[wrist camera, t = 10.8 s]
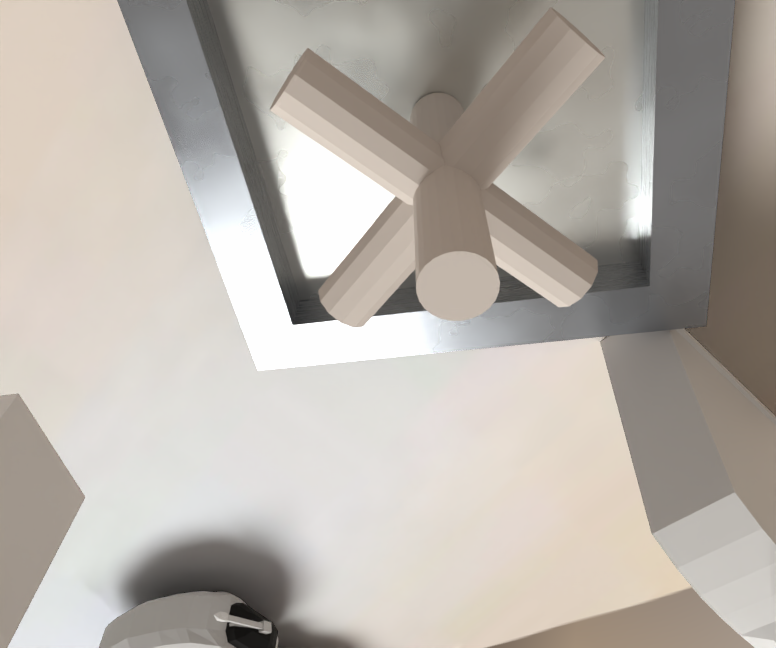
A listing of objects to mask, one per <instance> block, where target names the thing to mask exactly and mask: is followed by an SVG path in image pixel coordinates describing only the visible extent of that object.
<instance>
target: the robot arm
mask: <svg viewBox="0 0 776 648" xmlns="http://www.w3.org/2000/svg"><path fill="white" fill-rule="evenodd" d="M84 499H85V496H84V494H83V493H82V491H81V490H80V488H79V487H78V485H77V483H76V482H75V480H74V479H73V477H72V476H71V474H70V473H69V471H68V469H67V468H66V466H65V465H64V463H63V462H62V460H61V459H60V457H59V456H58V454H57V452H56V451H55V449H54V448H53V446H52V445H51V443H50V442H49V440H48V438H47V437H46V435H45V434H44V432H43V431H42V429H41V428H40V426H39V425H38V423H37V421H36V420H35V418H34V417H33V415H32V414H31V412H30V411H29V409H28V407H27V406H26V404H25V403H24V401H23V400H22V398H21V397H20V395H19V394H11V395H2V396H0V648H7V647H8V645H9V643H10V641H11V639H12V638H13V636H14V634H15V632H16V630H17V628H18V626H19V624H20V622H21V620H22V618H23V616H24V614H25V612H26V611H27V609H28V607H29V605H30V603H31V601H32V599H33V597H34V595H35V593H36V591H37V589H38V587H39V585H40V584H41V582H42V580H43V578H44V576H45V574H46V572H47V570H48V568H49V566H50V564H51V562H52V560H53V558H54V557H55V555H56V553H57V551H58V549H59V547H60V545H61V543H62V541H63V539H64V537H65V535H66V533H67V531H68V530H69V528H70V526H71V524H72V522H73V520H74V518H75V516H76V514H77V512H78V510H79V508H80V506H81V504H82V503H83V501H84Z"/></svg>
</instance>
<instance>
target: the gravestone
mask: <svg viewBox="0 0 776 648" xmlns="http://www.w3.org/2000/svg"><path fill="white" fill-rule="evenodd" d="M600 343H601V347H602V350H603V354H604V358H605V362H606V365H607V369H608V373H609V376H610V380H611V384H612V388H613V391H614V395H615V399H616V402H617V406H618V410H619V414H620V417H621V421H622V425H623V428H624V432H625V436H626V440H627V443H628V447H629V451H630V454H631V458H632V462H633V466H634V469H635V473H636V477H637V480H638V484H639V488H640V492H641V495H642V499H643V503H644V506H645V510H646V514H647V518H648V521H649V525H650V529H651V533H652V535H653V536H654V538H655V539H656V540H657V542H658V543H659V545H660V546H661V547H662V549H663V550H664V552H665V553H666V554H667V556H668V557H669V559H670V560H671V561H672V563H673V564H674V565H675V567H676V568H677V569H678V571H679V572H680V573H681V574H682V576H683V577H684V578H685V579H686V580H687V582H688V583H689V584H690V585H691V586H692V588H693V589H694V590H695V591H696V592H697V593H698V595H699V596H700V597H701V598H702V599H703V600H704V601H705V602H706V603H707V604H708V605H709V606H710V607H711V608H712V609H713V610H714V611H715V612H716V613H717V614H718V615H719V616H720V618H722V619H723V620H724V621H725V622H726V623H727V624H728V625H729V626H730V627H732V628H733V629H734V630H735V631H736V632H737V633H738V634H739V635H740V636H742V637H743V638H744V639H745V640H746V641H748V642H749V643H750V644H751V645H753V646H754V647H755V648H776V416H775V415H774V414H773V413H772V412H771V411H770V410H769V409H768V408H767V407H766V406H765V405H764V404H763V403H761V402H760V401H759V400H758V399H757V398H756V397H755V396H754V395H753V394H752V393H751V392H750V391H749V390H748V389H747V388H746V387H745V386H744V385H743V384H742V383H741V382H740V381H739V380H738V379H737V378H735V377H734V376H733V375H732V374H731V373H730V372H729V371H728V370H727V369H726V368H725V367H724V366H723V365H722V364H721V363H720V362H719V361H718V360H717V359H716V358H715V357H714V356H713V355H712V354H711V353H710V352H708V351H707V350H706V349H705V348H704V347H703V346H702V345H701V344H700V343H699V342H698V341H697V340H696V339H695V338H694V337H693V336H692V335H691V334H690V333H689V332H688V331H687V330H686V329H685V328H684V329H674V330H664V331H654V332H644V333H634V334H623V335H613V336H608V337H607V338H605V339H604V340H602V341H601V342H600Z"/></svg>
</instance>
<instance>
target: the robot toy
mask: <svg viewBox="0 0 776 648" xmlns="http://www.w3.org/2000/svg"><path fill="white" fill-rule="evenodd" d="M278 641H279V638H278V631H277V629H276V627H275V626H274V624H273V623H272V622H271V621H270V620H268V619H267V618H265V617H264V616H262V615H261V614H259V613H258V612H256V611H255V610H253V609H252V608H250V607H249V606H247V605H246V604H245V602H244V601H242V600H241V599H240V598H238V597H236V596H235V595H233V594H231V593H229V592H207V591H198V592H189V593H181V594H175V595H171V596H167V597H163V598H158V599H154V600H150V601H147V602H145V603H142V604H140V605H138V606H136V607H135V608H133V609H131V610H129V611H128V612H126V613H124V614H122V615H121V616H119V617H117V618H116V619H115V620H114V621H112V622H111V623H110V624H109V625H108V626H107V627H106V629H105V632H104V634H103V637H102V640H101V643H100V646H99V648H277V647H278Z"/></svg>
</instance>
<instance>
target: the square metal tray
mask: <svg viewBox="0 0 776 648" xmlns="http://www.w3.org/2000/svg"><path fill="white" fill-rule="evenodd" d="M117 1H118V3H119V6H120V9H121V11H122V14H123V17H124V19H125V22H126V25H127V27H128V30H129V32H130V35H131V38H132V40H133V43H134V46H135V48H136V51H137V53H138V56H139V59H140V61H141V64H142V67H143V69H144V72H145V75H146V77H147V80H148V82H149V85H150V88H151V90H152V93H153V96H154V98H155V101H156V104H157V106H158V109H159V111H160V114H161V117H162V119H163V122H164V125H165V127H166V130H167V133H168V135H169V138H170V140H171V143H172V146H173V148H174V151H175V154H176V156H177V159H178V162H179V164H180V167H181V169H182V172H183V175H184V177H185V180H186V183H187V185H188V188H189V191H190V193H191V196H192V198H193V201H194V204H195V206H196V209H197V212H198V214H199V217H200V220H201V222H202V225H203V227H204V230H205V233H206V235H207V238H208V241H209V243H210V246H211V249H212V251H213V254H214V256H215V259H216V262H217V264H218V267H219V270H220V272H221V275H222V278H223V280H224V283H225V285H226V288H227V291H228V293H229V296H230V299H231V301H232V304H233V307H234V309H235V312H236V314H237V317H238V320H239V322H240V325H241V328H242V330H243V333H244V336H245V338H246V341H247V343H248V346H249V349H250V351H251V354H252V357H253V359H254V362H255V365H256V367H257V370H258V371H259V370H269V369H279V368H289V367H300V366H310V365H320V364H330V363H340V362H350V361H360V360H370V359H381V358H391V357H401V356H411V355H421V354H431V353H441V352H451V351H462V350H472V349H482V348H492V347H502V346H512V345H522V344H532V343H542V342H553V341H563V340H573V339H583V338H593V337H603V336H613V335H623V334H634V333H644V332H654V331H664V330H674V329H684V328H694V327H704V326H706V325H707V313H708V302H709V291H710V279H711V268H712V257H713V245H714V234H715V223H716V211H717V200H718V189H719V178H720V166H721V155H722V144H723V132H724V121H725V110H726V98H727V87H728V76H729V65H730V53H731V42H732V31H733V19H734V8H735V0H117ZM550 7H552V8H553V9H555V10H556V11H557V12H559V13H560V14H561V15H562V16H563V17H565V18H566V19H567V20H568V21H569V22H570V23H571V24H573V25H574V26H575V27H576V28H577V29H578V30H579V31H580V32H581V33H582V34H584V35H585V36H586V37H587V38H588V39H589V40H590V41H591V42H592V43H593V44H594V45H595V46H596V47H597V48H598V49H599V50H600V51H601V52H602V53H603V54H604V56H605V59H604V60H603V61H602V62H601V63H600V64H599V65H598V66H597V67H596V69H595V70H594V71H593V72H592V73H591V74H590V75H589V76H588V77H587V79H586V80H585V81H584V82H583V83H582V84H581V85H580V86H579V87H578V89H577V90H576V91H575V92H574V93H573V94H572V95H571V96H570V97H569V99H568V100H567V101H566V102H565V103H564V104H563V105H562V106H561V107H560V109H559V110H558V111H557V112H556V113H555V114H554V115H553V116H552V117H551V119H550V120H549V121H548V122H547V123H546V124H545V125H544V126H543V127H542V129H541V130H540V131H539V132H538V133H537V134H536V135H535V136H534V137H533V139H532V140H531V141H530V142H529V143H528V144H527V145H526V146H525V147H524V149H523V150H522V151H521V152H520V153H519V154H518V155H517V156H516V157H515V159H514V160H513V161H512V162H511V163H510V164H509V165H508V166H507V167H506V169H505V170H504V171H503V172H502V173H501V174H500V175H499V176H498V177H497V179H496V180H495V181H494V182H493V184H495V185H496V186H497V187H499V188H500V189H501V190H503V191H504V192H506V193H507V194H508V195H510V196H511V197H512V198H514V199H515V200H516V201H518V202H519V203H521V204H522V205H523V206H525V207H526V208H527V209H529V210H530V211H531V212H533V213H534V214H536V215H537V216H538V217H540V218H541V219H542V220H544V221H545V222H546V223H548V224H549V225H551V226H552V227H553V228H555V229H556V230H557V231H559V232H560V233H562V234H563V235H564V236H566V237H567V238H568V239H570V240H571V241H572V242H574V243H575V244H577V245H578V246H579V247H581V248H582V249H583V250H585V251H586V252H587V253H589V254H590V255H591V256H593V257H594V258H595V259H596V260H598V273H597V275H596V277H595V280H594V282H593V284H592V286H591V287H590V289H589V290H588V291H587V292H586V293H585V295H584V296H583V297H582V298H581V299H580V300H578V301H577V302H575V303H574V304H572V305H571V306H569V307H558V306H556V305H555V304H553V303H552V302H550V301H549V300H547V299H546V298H544V297H543V296H542V295H540V294H539V293H537V292H536V291H534V290H533V289H531V288H530V287H528V286H527V285H525V284H524V283H522V282H521V281H519V280H518V279H517V278H515V277H514V276H512V275H511V274H509V273H508V272H506V271H505V270H503V269H502V268H500V267H499V266H497V265H496V266H497V270H498V275H499V280H500V288H499V293H498V296H497V298H496V300H495V302H494V303H493V304H492V305H491V307H490V308H489V309H487V310H486V311H485V312H484V313H482V314H481V315H478V316H476V317H474V318H472V319H467V320H463V321H449V320H444V319H440V318H438V317H436V316H434V315H432V314H430V313H429V312H428V311H427V310H426V309H424V307H423V306H422V304H421V303H420V302H419V299H418V296H417V293H416V271H415V270H414V271H413V272H412V273H411V274H410V275H409V276H408V277H407V279H406V280H405V281H404V282H403V283H402V284H401V285H400V286H399V287H398V288H397V290H396V291H395V292H394V293H393V294H392V295H391V296H390V297H389V298H388V300H387V301H386V302H385V303H384V304H383V305H382V306H381V307H380V308H379V310H378V311H377V312H376V313H375V314H374V315H373V316H372V317H371V318H370V320H369V321H368V322H367V323H366V324H365V325H364V326H363V327H357V328H353V327H350V326H347V325H345V324H342V323H340V322H339V321H338V320H337V319H335V318H334V317H333V316H331V315H330V314H329V313H328V312H327V310H326V309H325V307H324V306H323V305H322V303H321V302H320V298H319V292H318V290H319V289H320V288H321V286H322V285H323V284H324V283H325V281H326V280H327V279H328V278H329V276H330V275H331V274H332V273H333V272H334V270H335V269H336V268H337V267H338V265H339V264H340V263H341V262H342V261H343V259H344V258H345V257H346V256H347V254H348V253H349V252H350V251H351V250H352V248H353V247H354V246H355V245H356V244H357V242H358V241H359V240H360V239H361V237H362V236H363V235H364V234H365V233H366V231H367V230H368V229H369V228H370V226H371V225H372V224H373V223H374V222H375V220H376V219H377V218H378V217H379V215H380V214H381V213H382V212H383V211H384V209H385V208H386V207H387V206H388V204H389V203H390V202H391V201H392V200H393V198H394V197H395V195H393V194H392V193H390V192H389V191H387V190H386V189H384V188H383V187H381V186H380V185H379V184H377V183H376V182H374V181H373V180H371V179H370V178H368V177H367V176H365V175H364V174H362V173H361V172H359V171H358V170H357V169H355V168H354V167H352V166H351V165H349V164H348V163H346V162H345V161H343V160H342V159H340V158H339V157H337V156H336V155H335V154H333V153H332V152H330V151H329V150H327V149H326V148H324V147H323V146H321V145H320V144H318V143H317V142H315V141H314V140H312V139H311V138H310V137H308V136H307V135H305V134H304V133H302V132H301V131H299V130H298V129H296V128H295V127H293V126H292V125H290V124H289V123H288V122H286V121H285V120H283V119H282V118H280V117H279V116H277V115H276V114H274V113H273V112H271V111H270V107H271V105H272V103H273V101H274V99H275V97H276V96H277V94H278V92H279V90H280V89H281V87H282V85H283V84H284V82H285V80H286V79H287V77H288V76H289V74H290V72H291V71H292V69H293V68H294V66H295V65H296V63H297V62H298V60H299V59H300V57H301V56H302V54H303V53H304V52H305V50H306V49H307V48H309V49H310V50H312V51H313V52H314V53H316V54H317V55H319V56H320V57H321V58H323V59H324V60H325V61H327V62H328V63H330V64H331V65H332V66H334V67H335V68H336V69H338V70H339V71H340V72H342V73H343V74H345V75H346V76H347V77H349V78H350V79H351V80H353V81H354V82H355V83H357V84H358V85H360V86H361V87H362V88H364V89H365V90H366V91H368V92H369V93H370V94H372V95H373V96H375V97H376V98H377V99H379V100H380V101H381V102H383V103H384V104H385V105H387V106H388V107H390V108H391V109H392V110H394V111H395V112H396V113H398V114H399V115H400V116H402V117H403V118H405V119H406V120H407V121H409V122H410V116H411V112H412V109H413V108H414V106H415V104H416V103H417V102H418V101H419V100H420V99H421V98H423V97H424V96H426V95H428V94H432V93H445V94H449V95H451V96H453V97H454V98H456V99H457V100H458V101H459V102H460V104H461V106H462V107H463V109H464V112H465V111H466V109H467V108H468V107H469V106H470V104H471V103H472V102H473V101H474V100H475V98H476V97H477V96H478V95H479V93H480V92H481V91H482V90H483V89H484V87H485V86H486V85H487V84H488V83H489V81H490V80H491V79H492V78H493V76H494V75H495V74H496V73H497V72H498V70H499V69H500V68H501V67H502V65H503V64H504V63H505V62H506V61H507V59H508V58H509V57H510V56H511V54H512V53H513V52H514V51H515V50H516V48H517V47H518V46H519V45H520V43H521V42H522V41H523V40H524V39H525V37H526V36H527V35H528V34H529V33H530V31H531V30H532V29H533V28H534V26H535V25H536V24H537V23H538V22H539V20H540V19H541V18H542V17H543V15H544V14H545V13H546V12H547V11H548V9H549V8H550Z"/></svg>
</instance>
